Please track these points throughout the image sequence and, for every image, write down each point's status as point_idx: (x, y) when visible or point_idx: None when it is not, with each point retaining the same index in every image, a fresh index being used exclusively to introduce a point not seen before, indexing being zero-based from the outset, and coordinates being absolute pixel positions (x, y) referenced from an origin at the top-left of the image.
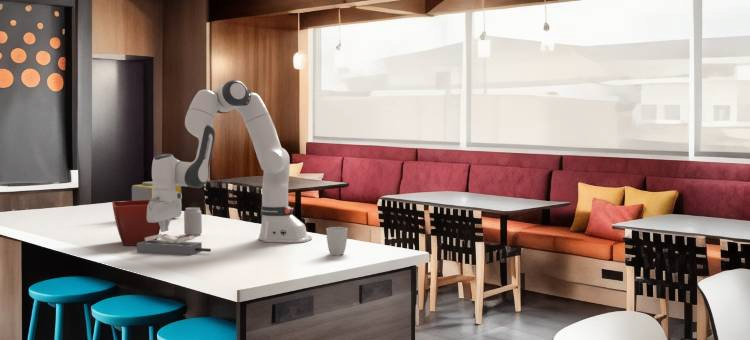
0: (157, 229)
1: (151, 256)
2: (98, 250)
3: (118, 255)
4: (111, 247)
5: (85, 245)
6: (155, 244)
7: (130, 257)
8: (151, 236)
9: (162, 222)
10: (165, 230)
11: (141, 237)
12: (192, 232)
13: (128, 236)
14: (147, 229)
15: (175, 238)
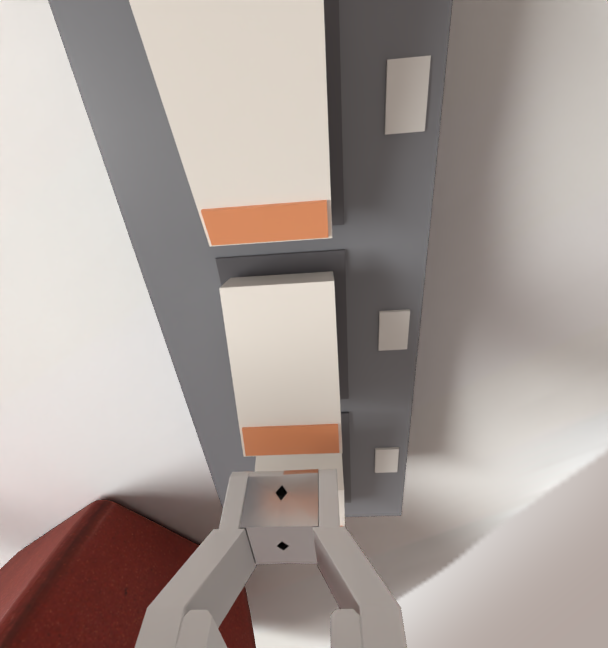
0: (55, 593)
1: (550, 299)
2: (392, 587)
3: (523, 482)
4: (298, 584)
5: (299, 643)
6: (412, 397)
7: (601, 402)
8: (343, 509)
9: (404, 636)
10: (308, 477)
11: (168, 577)
12: None
13: (228, 616)
14: (122, 624)
15: (263, 299)
